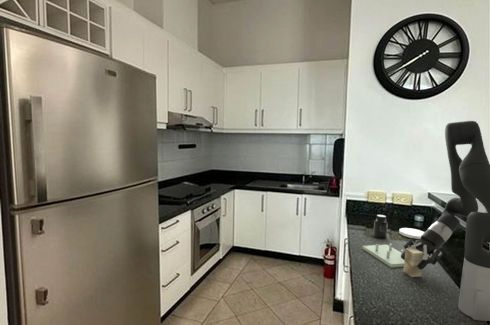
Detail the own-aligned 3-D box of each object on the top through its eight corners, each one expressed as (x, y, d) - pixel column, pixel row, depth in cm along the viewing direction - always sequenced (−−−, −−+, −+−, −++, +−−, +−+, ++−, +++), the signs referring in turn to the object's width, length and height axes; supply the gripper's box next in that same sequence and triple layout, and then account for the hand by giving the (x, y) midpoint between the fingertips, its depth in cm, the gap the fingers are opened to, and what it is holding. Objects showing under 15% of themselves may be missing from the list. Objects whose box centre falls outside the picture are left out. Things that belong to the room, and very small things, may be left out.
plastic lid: (412, 241, 157) (413, 237, 157) (393, 232, 171) (393, 228, 170) (433, 240, 161) (433, 235, 161) (412, 231, 174) (412, 227, 174)
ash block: (421, 276, 117) (423, 252, 116) (411, 277, 116) (414, 253, 115) (412, 271, 121) (414, 248, 120) (403, 271, 120) (405, 248, 119)
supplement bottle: (388, 236, 162) (390, 216, 161) (384, 239, 157) (386, 218, 156) (375, 233, 167) (377, 213, 166) (371, 236, 162) (373, 215, 161)
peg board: (418, 265, 127) (419, 255, 126) (391, 267, 124) (392, 257, 123) (386, 247, 146) (387, 238, 146) (362, 248, 143) (363, 240, 143)
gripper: (417, 223, 125) (392, 250, 124) (447, 235, 112) (419, 265, 110) (426, 234, 127) (402, 261, 126) (456, 247, 113) (429, 277, 112)
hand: (410, 263), depth 118 cm, fingers open, 8 cm apart
